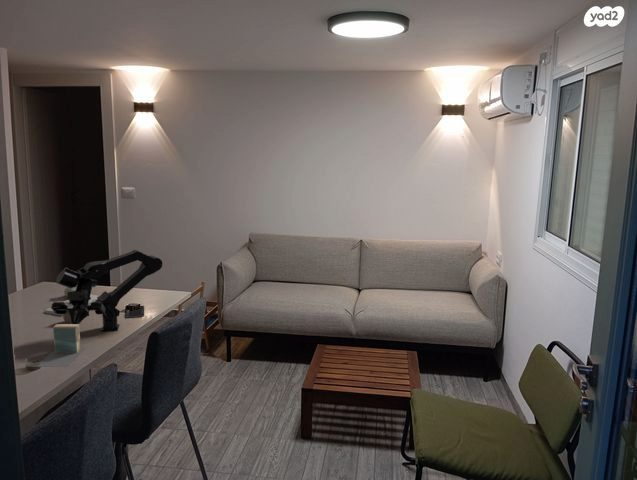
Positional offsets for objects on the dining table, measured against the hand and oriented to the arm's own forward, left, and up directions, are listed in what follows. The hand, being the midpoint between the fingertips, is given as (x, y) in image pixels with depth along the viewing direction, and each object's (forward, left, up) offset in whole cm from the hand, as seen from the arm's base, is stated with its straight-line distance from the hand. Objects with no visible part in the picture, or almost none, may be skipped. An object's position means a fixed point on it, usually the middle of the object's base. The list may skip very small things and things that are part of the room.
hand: (73, 328), depth 189 cm
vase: (-28, -7, -7) cm, 30 cm away
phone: (-37, +18, -8) cm, 42 cm away
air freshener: (-67, -13, -7) cm, 69 cm away
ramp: (-47, -8, -8) cm, 48 cm away
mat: (+11, -2, -7) cm, 13 cm away
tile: (+6, -1, -7) cm, 9 cm away
